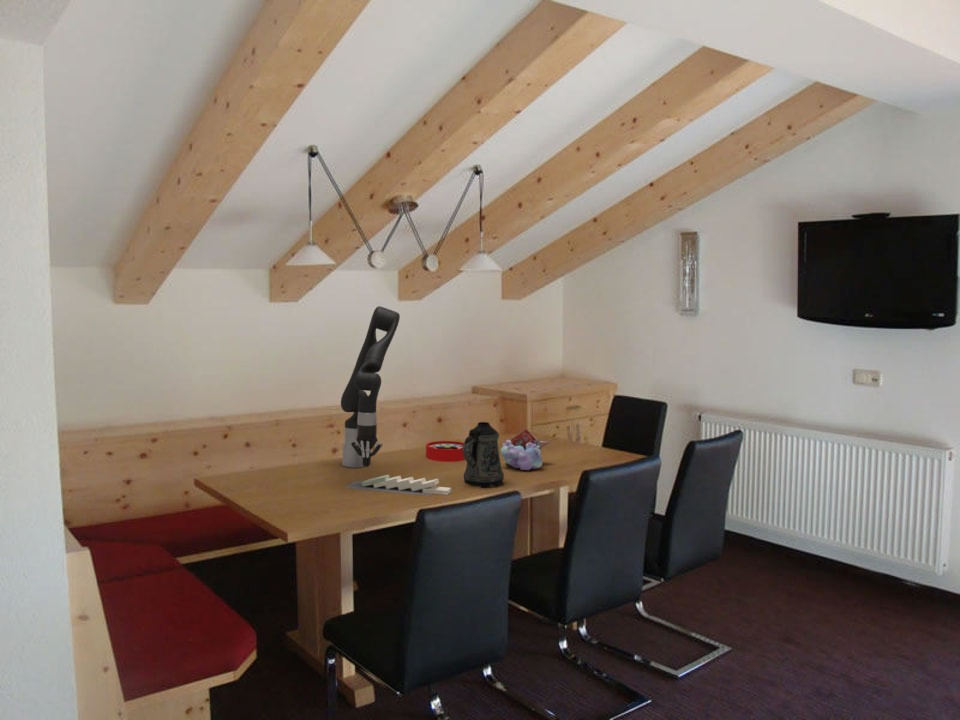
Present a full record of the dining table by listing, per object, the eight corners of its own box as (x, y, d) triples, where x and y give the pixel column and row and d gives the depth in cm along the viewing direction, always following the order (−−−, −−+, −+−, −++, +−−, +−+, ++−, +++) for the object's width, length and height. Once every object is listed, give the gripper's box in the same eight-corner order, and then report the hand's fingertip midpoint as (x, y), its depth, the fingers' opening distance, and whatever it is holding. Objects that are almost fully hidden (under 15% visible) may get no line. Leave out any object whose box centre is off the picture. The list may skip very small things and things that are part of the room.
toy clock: (468, 450, 371) (424, 449, 371) (468, 462, 371) (424, 461, 372) (469, 441, 391) (427, 440, 391) (468, 453, 391) (427, 452, 391)
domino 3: (385, 485, 318) (408, 479, 316) (389, 482, 323) (412, 476, 320) (386, 489, 318) (409, 483, 316) (391, 486, 323) (413, 480, 321)
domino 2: (373, 484, 320) (396, 478, 317) (377, 481, 324) (400, 475, 322) (374, 488, 320) (397, 482, 317) (379, 485, 324) (401, 479, 322)
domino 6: (422, 488, 315) (447, 491, 312) (426, 485, 319) (451, 487, 317) (422, 492, 315) (447, 495, 312) (426, 489, 319) (451, 491, 317)
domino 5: (410, 487, 316) (434, 481, 313) (415, 484, 321) (438, 478, 318) (412, 491, 316) (435, 485, 313) (416, 488, 321) (439, 482, 318)
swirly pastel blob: (500, 462, 351) (522, 427, 351) (488, 450, 372) (509, 417, 372) (537, 484, 357) (559, 450, 357) (523, 471, 378) (544, 438, 378)
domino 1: (361, 482, 321) (384, 477, 318) (366, 480, 326) (389, 474, 323) (362, 486, 321) (385, 481, 318) (367, 483, 326) (390, 478, 323)
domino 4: (397, 486, 317) (420, 480, 314) (402, 483, 322) (425, 477, 319) (398, 490, 317) (422, 484, 314) (403, 487, 322) (426, 481, 319)
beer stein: (506, 479, 341) (508, 420, 338) (498, 491, 322) (500, 428, 319) (468, 476, 344) (469, 418, 342) (457, 488, 325) (458, 426, 323)
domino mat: (344, 488, 319) (344, 487, 319) (356, 481, 331) (356, 480, 331) (429, 497, 310) (429, 495, 310) (438, 489, 322) (438, 488, 322)
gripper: (386, 422, 323) (385, 465, 324) (355, 420, 326) (354, 463, 328) (379, 426, 315) (378, 469, 317) (347, 423, 319) (347, 467, 320)
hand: (366, 466), depth 322 cm, fingers closed
